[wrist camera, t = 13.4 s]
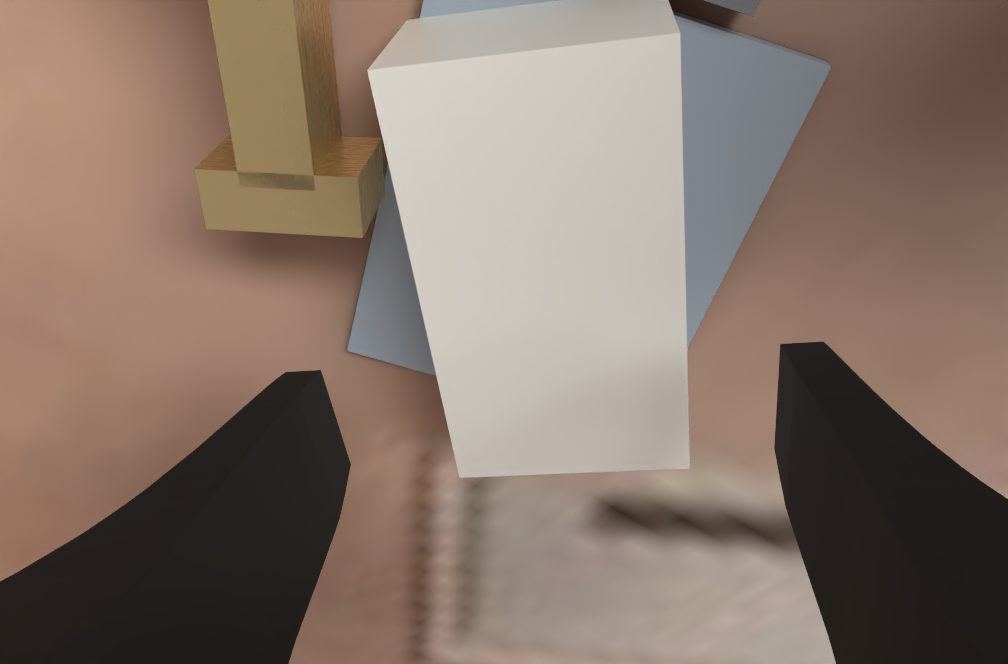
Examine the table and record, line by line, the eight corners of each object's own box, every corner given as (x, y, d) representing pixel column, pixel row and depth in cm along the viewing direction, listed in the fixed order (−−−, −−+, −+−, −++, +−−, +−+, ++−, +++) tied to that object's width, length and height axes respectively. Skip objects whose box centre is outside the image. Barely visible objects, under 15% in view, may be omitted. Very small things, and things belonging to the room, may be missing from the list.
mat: (826, 61, 16) (831, 66, 16) (642, 424, 22) (643, 434, 22) (440, -66, 16) (437, -63, 15) (350, 342, 21) (346, 350, 21)
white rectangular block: (663, -13, 15) (680, 32, 13) (675, 371, 20) (689, 468, 17) (407, 20, 16) (367, 70, 13) (477, 382, 21) (459, 477, 18)
